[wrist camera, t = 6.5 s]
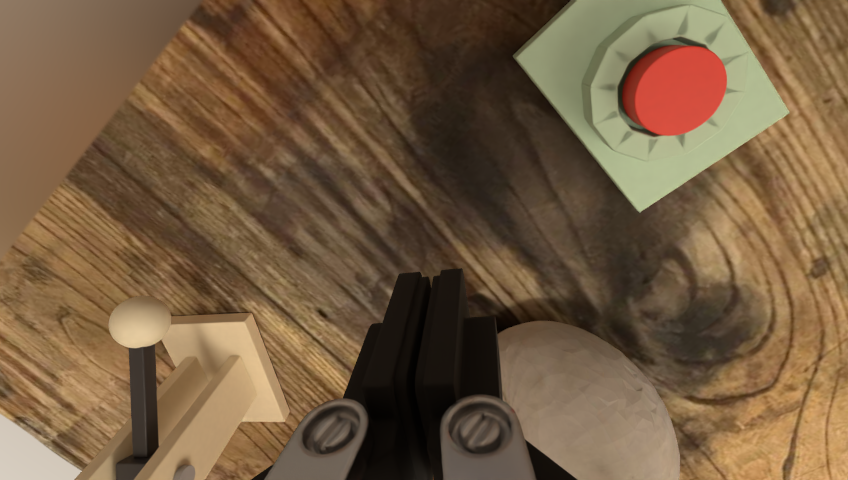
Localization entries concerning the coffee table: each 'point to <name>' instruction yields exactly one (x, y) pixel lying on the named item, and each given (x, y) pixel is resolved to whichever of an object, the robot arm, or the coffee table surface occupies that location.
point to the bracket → (202, 398)
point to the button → (674, 89)
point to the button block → (606, 73)
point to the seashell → (586, 404)
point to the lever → (140, 373)
